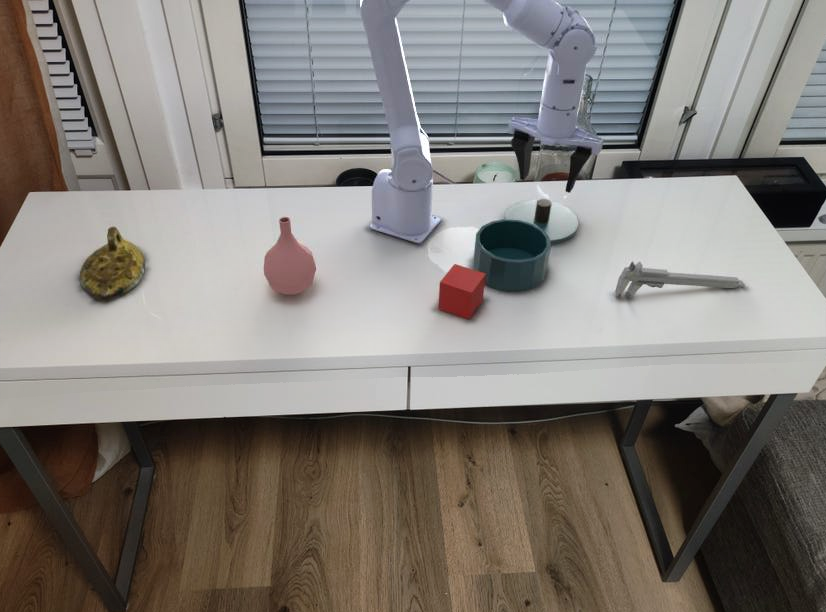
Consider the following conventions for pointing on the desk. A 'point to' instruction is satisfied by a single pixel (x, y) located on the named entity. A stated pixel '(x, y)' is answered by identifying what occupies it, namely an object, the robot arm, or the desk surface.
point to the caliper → (668, 279)
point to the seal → (112, 268)
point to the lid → (546, 217)
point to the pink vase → (289, 263)
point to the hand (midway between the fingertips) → (546, 183)
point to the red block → (461, 291)
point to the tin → (511, 254)
